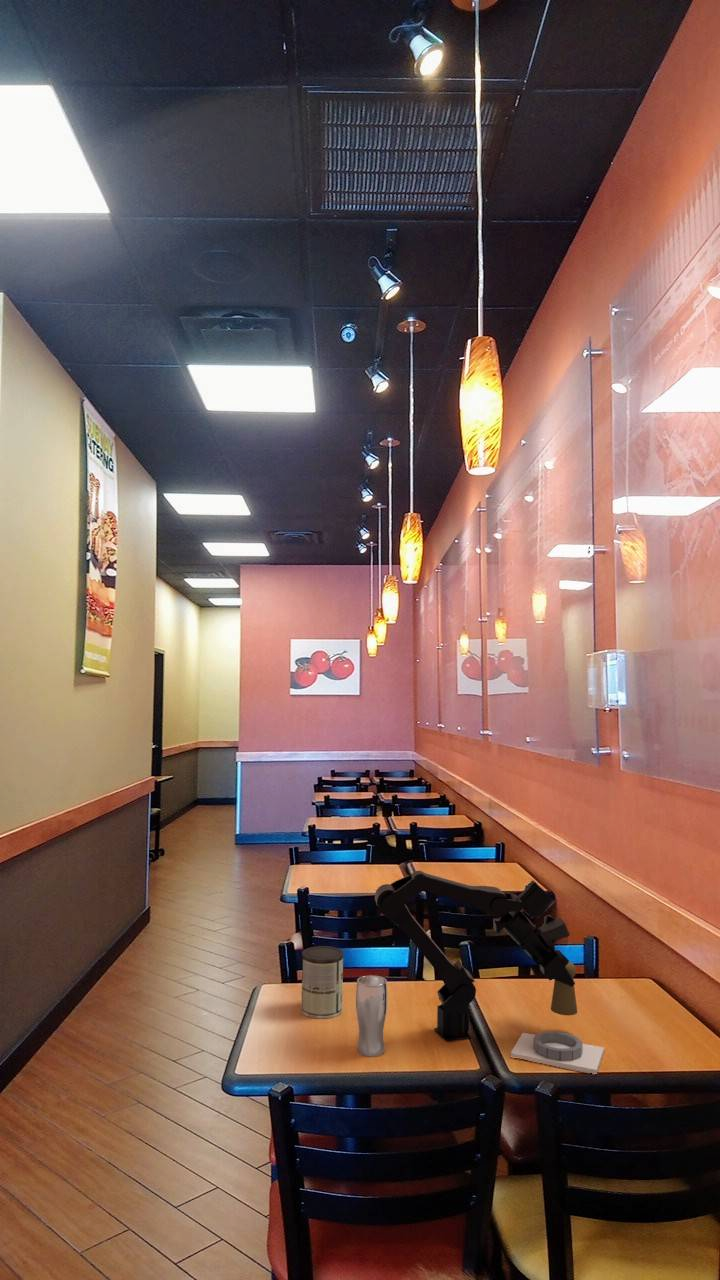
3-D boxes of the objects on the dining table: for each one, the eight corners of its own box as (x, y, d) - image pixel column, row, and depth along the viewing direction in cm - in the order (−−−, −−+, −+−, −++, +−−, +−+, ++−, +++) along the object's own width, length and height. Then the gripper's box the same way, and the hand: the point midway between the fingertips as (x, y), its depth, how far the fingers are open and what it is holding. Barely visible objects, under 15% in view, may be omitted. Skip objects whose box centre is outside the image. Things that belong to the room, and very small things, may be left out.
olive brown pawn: (571, 1017, 184) (571, 967, 185) (546, 1010, 188) (546, 962, 188) (581, 1009, 189) (581, 961, 190) (557, 1003, 192) (557, 956, 193)
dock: (510, 1057, 175) (510, 1043, 175) (522, 1037, 186) (522, 1023, 186) (596, 1074, 167) (596, 1059, 168) (604, 1052, 178) (604, 1038, 179)
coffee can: (296, 1005, 202) (297, 947, 203) (335, 1001, 206) (336, 944, 207) (306, 1021, 193) (308, 960, 194) (347, 1016, 196) (349, 956, 197)
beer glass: (355, 1043, 180) (356, 974, 182) (386, 1044, 180) (387, 975, 181) (354, 1057, 174) (355, 985, 175) (386, 1058, 173) (387, 986, 174)
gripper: (560, 918, 180) (608, 969, 180) (537, 897, 199) (581, 944, 199) (524, 954, 179) (573, 1005, 179) (505, 930, 198) (549, 976, 198)
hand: (570, 981), depth 189 cm, fingers closed on olive brown pawn, 5 cm apart
